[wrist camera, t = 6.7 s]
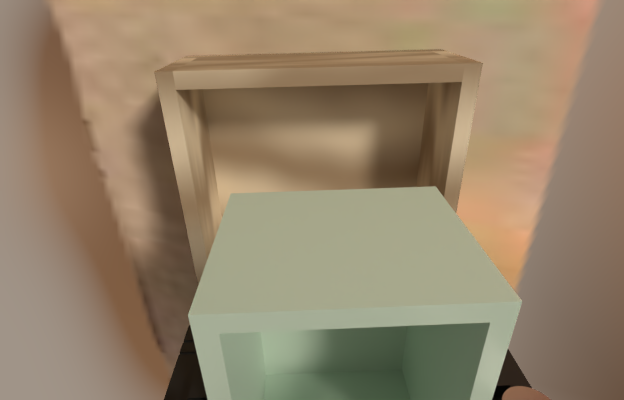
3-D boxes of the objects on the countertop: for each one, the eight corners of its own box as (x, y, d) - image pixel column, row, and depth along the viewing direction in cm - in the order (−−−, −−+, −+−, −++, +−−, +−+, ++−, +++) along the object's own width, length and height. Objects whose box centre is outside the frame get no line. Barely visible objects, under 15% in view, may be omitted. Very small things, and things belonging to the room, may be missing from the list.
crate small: (230, 193, 11) (187, 314, 7) (435, 186, 11) (522, 301, 7) (255, 373, 15) (237, 527, 11) (410, 366, 15) (456, 516, 11)
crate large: (186, 56, 22) (154, 71, 17) (441, 49, 22) (482, 63, 17) (217, 245, 28) (200, 298, 23) (417, 238, 28) (442, 288, 23)
